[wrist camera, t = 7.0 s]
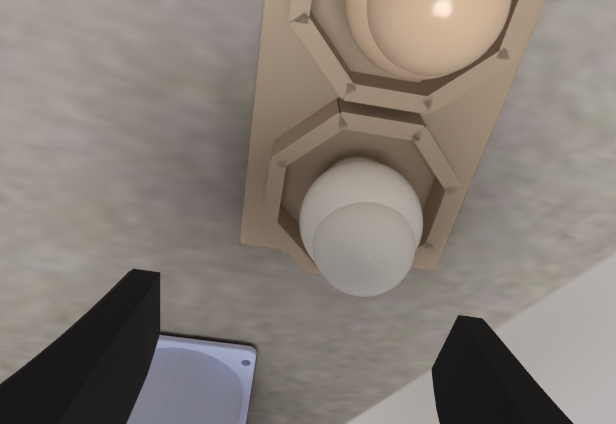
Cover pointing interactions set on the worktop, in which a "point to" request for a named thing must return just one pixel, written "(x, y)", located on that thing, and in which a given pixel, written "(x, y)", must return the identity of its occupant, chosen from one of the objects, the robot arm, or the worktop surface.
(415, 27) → the brown egg
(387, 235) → the cream egg
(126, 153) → the worktop surface
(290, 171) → the egg tray
